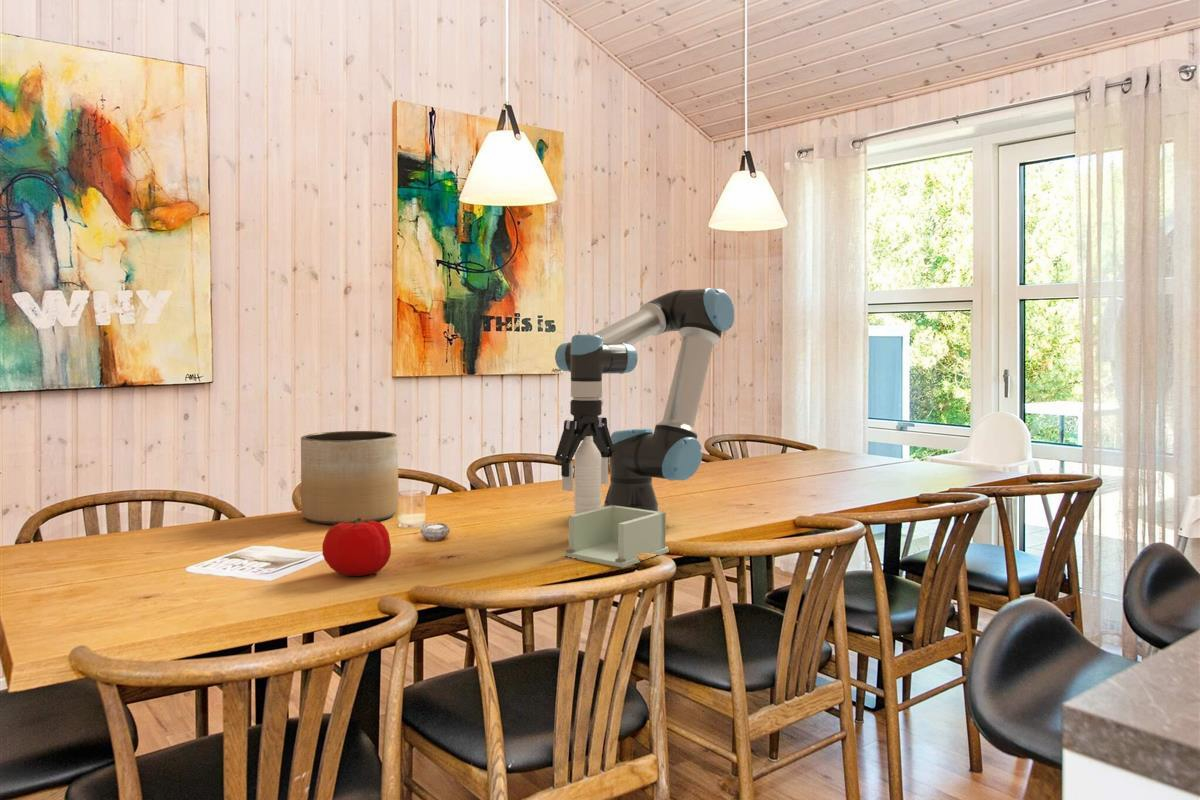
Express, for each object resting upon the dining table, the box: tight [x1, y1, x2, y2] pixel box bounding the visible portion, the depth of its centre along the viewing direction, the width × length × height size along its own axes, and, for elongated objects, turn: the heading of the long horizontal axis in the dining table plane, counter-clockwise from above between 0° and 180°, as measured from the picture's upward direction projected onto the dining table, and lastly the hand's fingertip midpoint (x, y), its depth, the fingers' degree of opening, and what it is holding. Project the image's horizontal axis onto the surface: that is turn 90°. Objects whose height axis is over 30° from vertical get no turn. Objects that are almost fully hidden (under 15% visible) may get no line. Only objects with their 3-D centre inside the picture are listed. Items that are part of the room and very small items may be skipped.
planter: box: [300, 430, 400, 526], centre depth 237 cm, size 25×25×22 cm
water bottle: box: [573, 434, 602, 514], centre depth 212 cm, size 9×6×25 cm
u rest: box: [563, 505, 669, 569], centre depth 196 cm, size 18×16×9 cm
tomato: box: [321, 518, 392, 577], centre depth 178 cm, size 12×13×12 cm
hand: (585, 486), depth 212 cm, fingers open, 13 cm apart
